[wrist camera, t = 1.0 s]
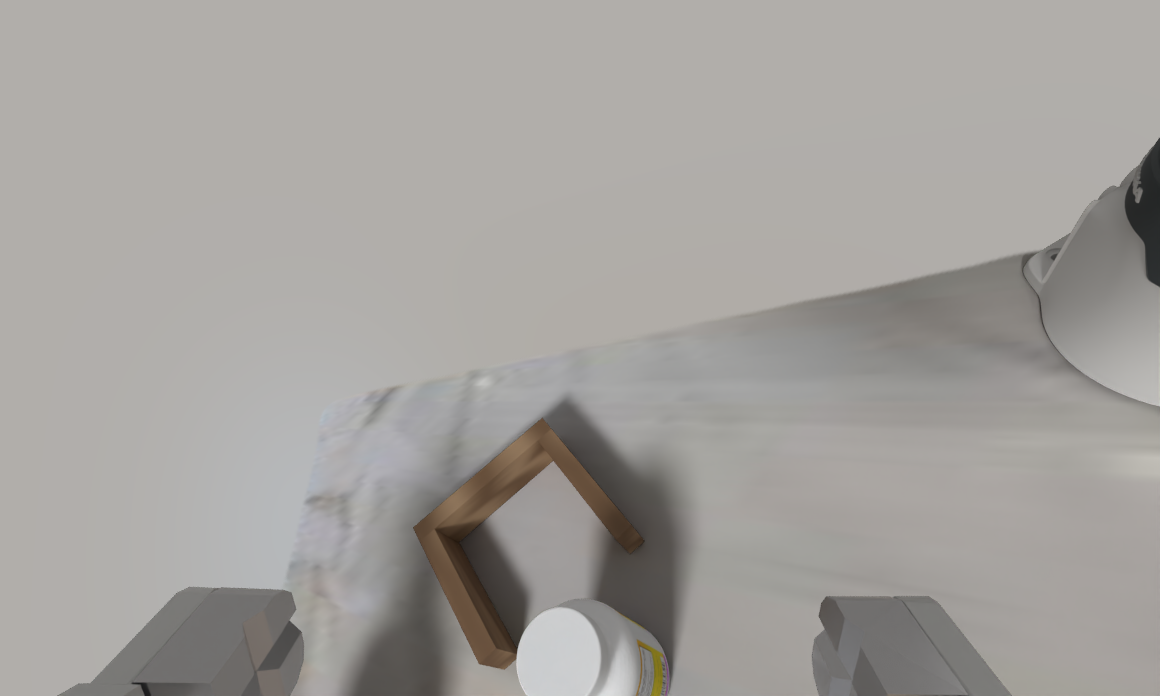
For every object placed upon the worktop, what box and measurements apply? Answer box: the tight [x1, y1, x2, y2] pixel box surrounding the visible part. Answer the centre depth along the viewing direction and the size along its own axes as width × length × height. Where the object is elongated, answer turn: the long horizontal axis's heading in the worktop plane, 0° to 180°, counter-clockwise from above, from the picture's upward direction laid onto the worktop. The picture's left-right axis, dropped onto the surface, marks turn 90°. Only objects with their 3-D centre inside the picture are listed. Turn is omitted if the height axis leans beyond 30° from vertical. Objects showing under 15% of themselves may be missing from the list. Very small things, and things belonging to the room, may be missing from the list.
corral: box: [413, 418, 644, 670], centre depth 43 cm, size 14×12×4 cm
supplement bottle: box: [516, 599, 670, 696], centre depth 32 cm, size 7×7×13 cm
